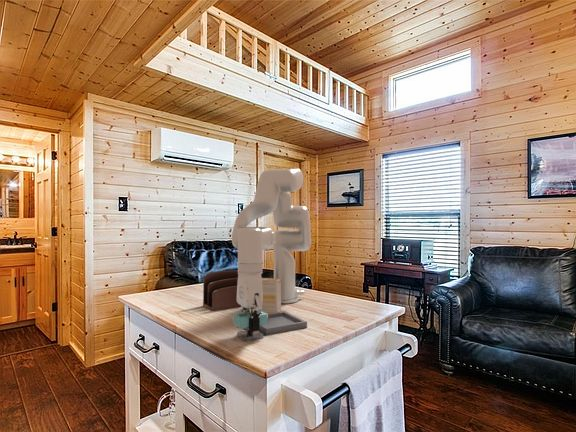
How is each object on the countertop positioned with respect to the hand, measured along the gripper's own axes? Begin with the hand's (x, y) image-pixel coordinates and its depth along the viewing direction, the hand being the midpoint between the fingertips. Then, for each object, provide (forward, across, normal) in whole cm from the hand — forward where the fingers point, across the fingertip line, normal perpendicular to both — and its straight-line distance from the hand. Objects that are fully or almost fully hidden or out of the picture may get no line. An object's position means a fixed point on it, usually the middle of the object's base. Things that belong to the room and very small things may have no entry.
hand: (250, 327), depth 100 cm
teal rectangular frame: (-1, 0, 0) cm, 1 cm away
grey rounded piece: (+3, 0, 0) cm, 3 cm away
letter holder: (+3, -41, +8) cm, 41 cm away
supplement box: (+3, -21, +17) cm, 27 cm away
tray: (+3, -6, +12) cm, 14 cm away
